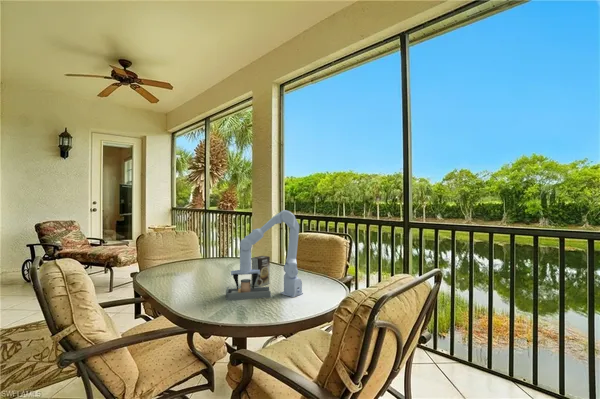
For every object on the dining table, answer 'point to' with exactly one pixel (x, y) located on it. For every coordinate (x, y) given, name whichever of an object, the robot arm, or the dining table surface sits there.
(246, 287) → the jar
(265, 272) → the coffee box
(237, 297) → the tray
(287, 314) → the dining table surface
